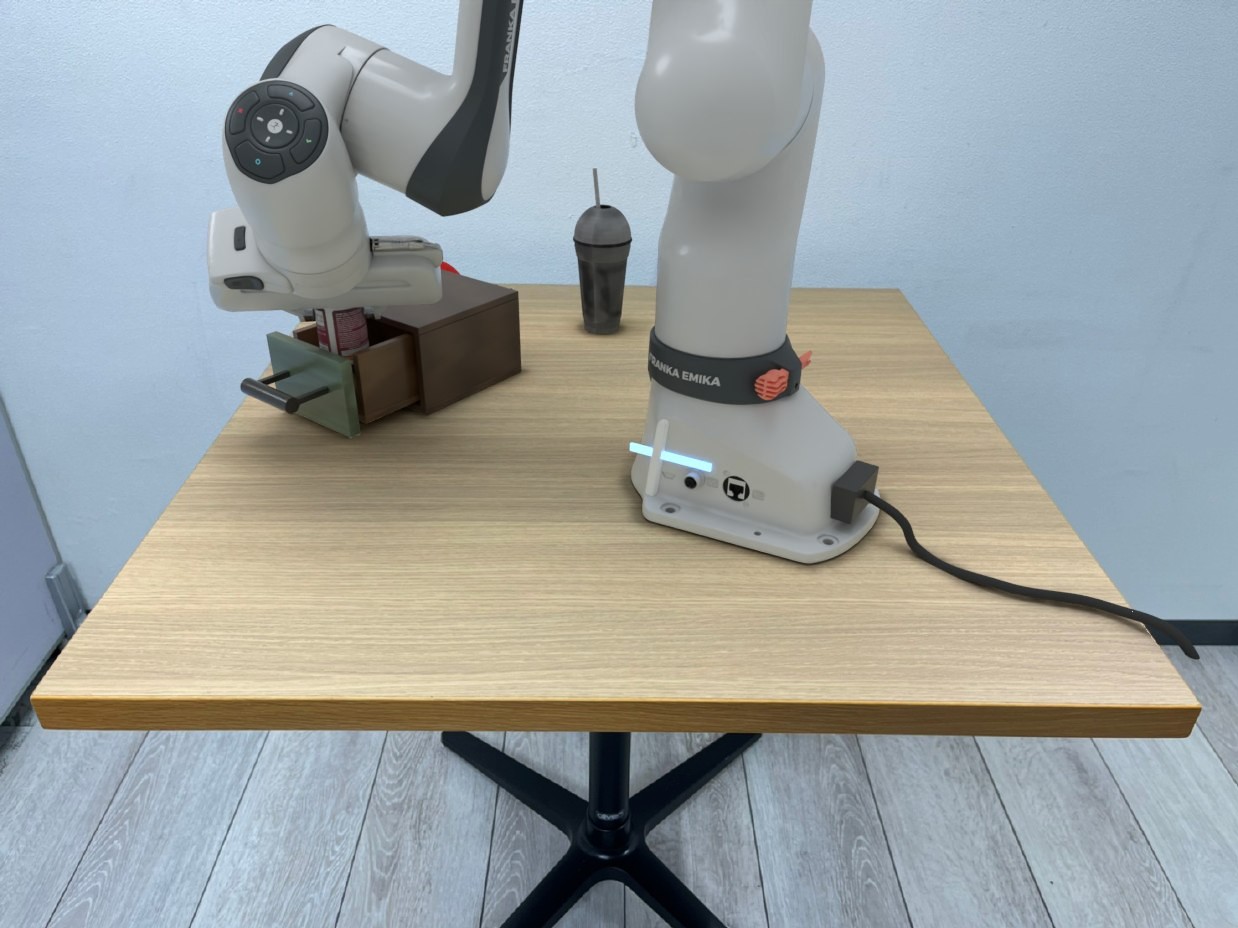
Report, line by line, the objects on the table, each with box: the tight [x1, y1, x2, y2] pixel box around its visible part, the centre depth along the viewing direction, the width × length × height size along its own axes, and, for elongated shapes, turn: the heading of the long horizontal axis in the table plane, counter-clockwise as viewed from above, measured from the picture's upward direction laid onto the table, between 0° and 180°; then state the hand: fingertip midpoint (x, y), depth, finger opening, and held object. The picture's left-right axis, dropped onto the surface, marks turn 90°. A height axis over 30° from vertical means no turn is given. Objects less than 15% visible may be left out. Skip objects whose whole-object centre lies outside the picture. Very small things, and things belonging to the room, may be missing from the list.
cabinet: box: [373, 269, 522, 416], centre depth 100 cm, size 15×13×10 cm
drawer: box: [239, 319, 420, 439], centre depth 92 cm, size 18×11×8 cm, turn 143°
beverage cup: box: [572, 167, 633, 336], centre depth 112 cm, size 7×7×20 cm
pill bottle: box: [314, 307, 369, 365], centre depth 89 cm, size 5×5×8 cm
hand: (340, 313), depth 90 cm, fingers closed on pill bottle, 5 cm apart
